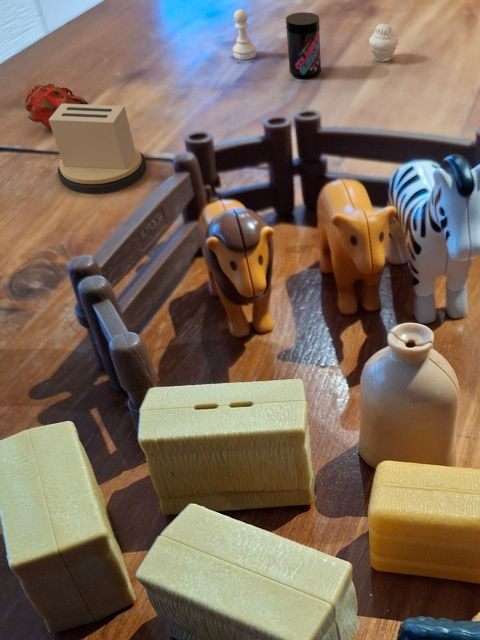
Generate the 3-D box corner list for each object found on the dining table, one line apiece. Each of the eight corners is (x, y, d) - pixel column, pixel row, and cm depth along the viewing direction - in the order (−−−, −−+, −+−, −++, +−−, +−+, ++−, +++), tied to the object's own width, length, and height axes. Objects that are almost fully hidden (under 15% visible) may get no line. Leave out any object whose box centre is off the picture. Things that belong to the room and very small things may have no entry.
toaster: (151, 146, 130) (140, 95, 124) (128, 186, 122) (114, 133, 115) (76, 142, 132) (61, 92, 125) (48, 182, 123) (29, 130, 116)
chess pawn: (239, 49, 161) (234, 4, 154) (260, 52, 160) (255, 7, 153) (229, 58, 158) (223, 12, 151) (250, 61, 157) (245, 15, 150)
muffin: (395, 65, 155) (397, 29, 150) (367, 64, 156) (367, 28, 150) (397, 53, 159) (399, 18, 154) (370, 52, 160) (370, 17, 154)
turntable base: (66, 201, 121) (64, 194, 121) (54, 160, 130) (51, 153, 129) (155, 182, 125) (153, 176, 124) (136, 144, 134) (135, 137, 133)
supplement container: (288, 80, 151) (284, 25, 143) (290, 66, 155) (286, 12, 147) (321, 79, 151) (319, 24, 143) (321, 66, 155) (319, 11, 147)
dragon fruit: (31, 134, 140) (95, 141, 142) (16, 124, 132) (84, 132, 133) (30, 86, 138) (95, 94, 140) (15, 73, 130) (84, 82, 131)
